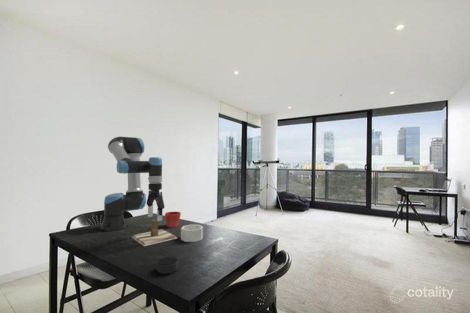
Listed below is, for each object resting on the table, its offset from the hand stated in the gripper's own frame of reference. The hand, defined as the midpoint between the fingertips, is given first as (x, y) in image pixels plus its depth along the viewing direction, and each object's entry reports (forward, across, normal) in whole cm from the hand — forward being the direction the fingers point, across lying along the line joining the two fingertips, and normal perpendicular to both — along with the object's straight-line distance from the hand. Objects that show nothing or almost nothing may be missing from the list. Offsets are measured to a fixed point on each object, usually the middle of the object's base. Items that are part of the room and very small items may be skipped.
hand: (154, 218), depth 135 cm
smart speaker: (+13, +41, -12) cm, 45 cm away
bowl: (+12, +15, +16) cm, 25 cm away
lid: (+11, -1, 0) cm, 11 cm away
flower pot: (+12, -17, +20) cm, 29 cm away
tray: (+12, -1, 0) cm, 12 cm away
